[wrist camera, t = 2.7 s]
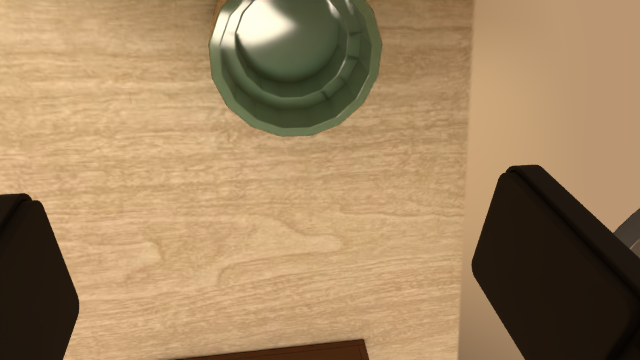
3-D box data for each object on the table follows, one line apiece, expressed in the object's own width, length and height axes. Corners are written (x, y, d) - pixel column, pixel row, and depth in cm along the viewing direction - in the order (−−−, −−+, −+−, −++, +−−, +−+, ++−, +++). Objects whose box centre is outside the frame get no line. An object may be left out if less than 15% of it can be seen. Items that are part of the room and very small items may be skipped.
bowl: (364, -47, 21) (392, -32, 17) (350, 96, 24) (371, 134, 21) (207, -52, 19) (200, -37, 16) (220, 98, 23) (217, 139, 20)
